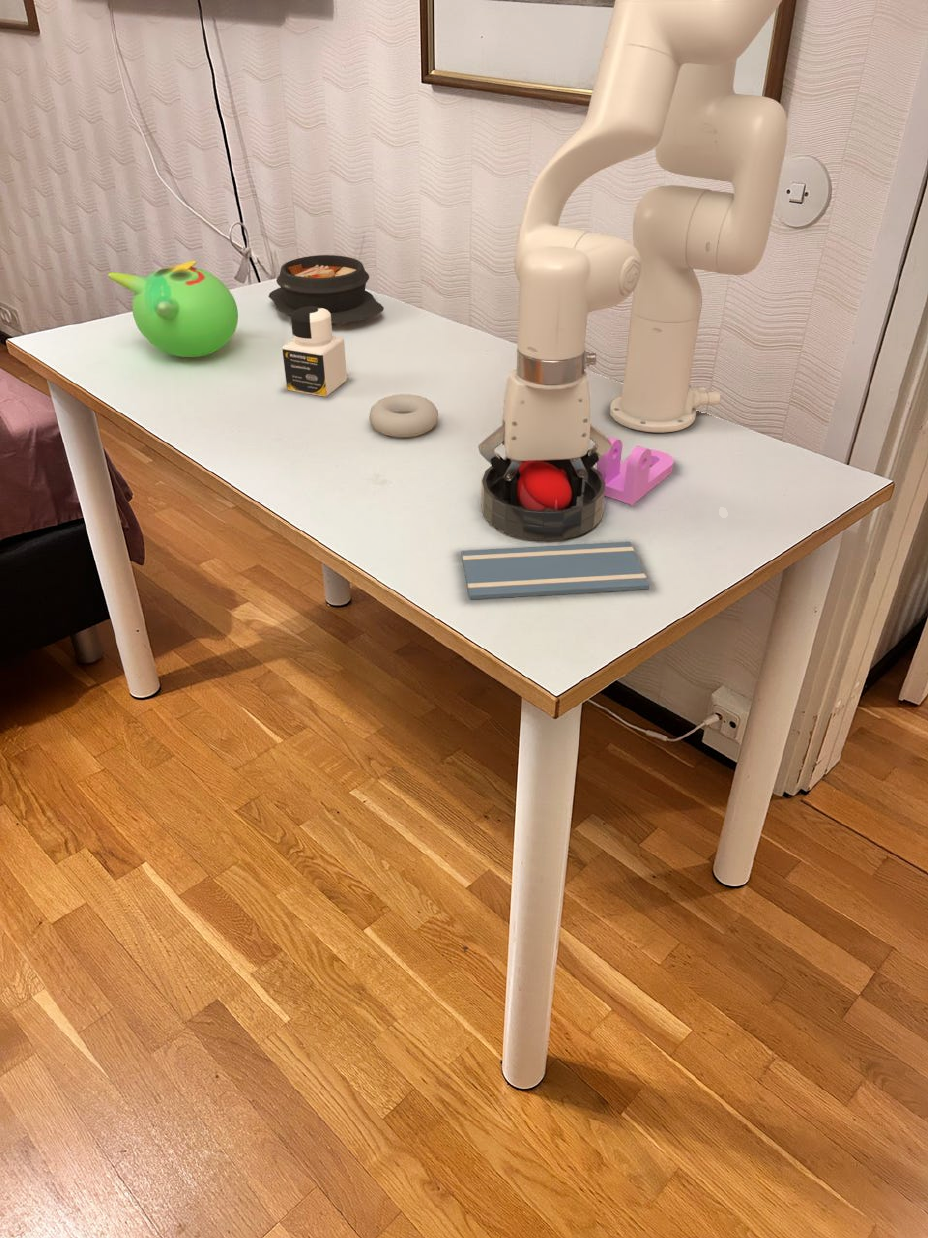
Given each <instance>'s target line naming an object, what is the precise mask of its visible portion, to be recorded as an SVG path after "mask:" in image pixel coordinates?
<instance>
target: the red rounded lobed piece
mask: <svg viewBox="0 0 928 1238" xmlns="http://www.w3.org/2000/svg"><path fill="white" fill-rule="evenodd" d="M519 473H520V475H521V476H520V478H519V480H518V493H517V500H518V502H519V504H520V505H522V507H523V508H525V509H531V510H540V511H545V510H546V509H547V507H548V508H551V509H555V510H563V509H564V508H565V507H567V506H568V505H569V503H570V501H571V497H572V492H571V487H570V484H569V481H568V477H567V475H566V473H565V471H564V470H563V469H560V470H559V469H558V468H556V467H555V466H553V465H551V464H549V463H547V462H543V461H526V462H523V463H522V464H521V466H520V467H519ZM552 511H553V510H552Z"/></svg>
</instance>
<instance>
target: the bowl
mask: <svg viewBox="0 0 928 1238" xmlns="http://www.w3.org/2000/svg"><path fill="white" fill-rule="evenodd" d="M523 462H526V461H523ZM523 462H522V463H523ZM543 462H547V463H549V464H551V465H553V466H555V467H556V468H558V469H559V470H560V469H563V470H564V471H565V473H566V475H568V469H569V467H570V466H571V465H572V463H571V461H570V459H564V460H543ZM596 469H597V468H596V467H594V466H593V467H591V468H590V469H589V470H588V471H587V474H586V475H585V476H584V477H583V481H582V492H581V497H577V504H576V506H571V505H570V504H569V505H568V506H567V507H565V508H564V509H563V510H555V509H551V508H548V507H547V509H546V510H545V511H540V510H531V509H525V508H523V507H522V505H520V504H519V502H518V500H517V506H513V505H510V504H509V500H504V495H503V488H504V477H503V476H502V475H501V474H500V473H499V472H498V471H497V470H495V469H494V468H493V467H492V465H490V467H488V468H487V469H486V470H485V472H484V473H483V476H482V478H481V510H482V514H483V517H484V518H485V519H486V521H487V522H488V523H489V524H490V525H491V526H493V527H495V528H496V529H497V530H499V531H501V532H502V533H504V534H507V535H509V536H512V537H516V538H519V539H523V540H528V541H534V542H555V541H556V542H557V541H563V540H564V541H565V540H569V539H572V538H576V537H578V536H582V535H583V534H585V533H587V532H588V531H590V530H593V529H594V528H595V527H596V526H597V525H598V524H599V523H600V522H601V520H602V517H603V513H604V511H603V510H604V502H605V485H606V483H605V481H604V479H603V476H602V474H601V473H600V472H599V471H597V470H596ZM520 476H521V475H520V473H519V469H518V471H517V473H516V477H517V480H519V478H520ZM552 510H553V511H552Z"/></svg>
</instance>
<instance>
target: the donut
mask: <svg viewBox="0 0 928 1238" xmlns="http://www.w3.org/2000/svg"><path fill="white" fill-rule="evenodd" d="M369 411H370V412H369V416H368V417H369V421H370V424H371V425H372V427H373V429H375V430H376V431H378V432H379V433H380V434H383V435H386V436H389V437H393V438H412V437H417V436H421V435H424V434H426V433H428V432H430V431H431V430H432V429H433V428H435V426H436V425H437V422H438V418H439V411H438V409H437V407H436V405H435V403H433V401H432V400H429V399H428V398H426V397H423V396H420V395H416V394H409V393H408V394H407V393H405V394H402V393H401V394H394V395H393V394H392V395H390V396H386V397H383V398H381V399H379V400H378V401H377V402H375V403H374V404H373V405H372V407H371V408H370V410H369Z"/></svg>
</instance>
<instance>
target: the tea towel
mask: <svg viewBox="0 0 928 1238" xmlns="http://www.w3.org/2000/svg"><path fill="white" fill-rule="evenodd" d="M461 560H462V565H463V566H462V567H463V571H464V577H465V582H466V587H467V592H468V593H467V594H468V599H469V600H470V601H471V600H487V599H502V598H505V599H506V598H520V597H537V596H553V595H554V596H556V595H573V594H574V595H575V594H585V593H586V594H587V593H588V594H589V593H605V592H622V591H623V592H624V591H640V590H641V591H642V590H649V589H650V584H649V582H648V580H647V575H646V574H645V573H644V570H643V568H642V566H641V563H640V562H639V559H638V557H637V554H636V553H635V549H634V546H633V545H632V543H631V542H630V541H619V542H618V541H617V542H616V541H615V542H600V543H599V542H598V543H597V542H596V543H582V544H581V543H580V544H561V545H545V546H544V545H543V546H525V547H523V546H522V547H507V548H505V547H504V548H489V549H487V548H485V549H471V550H461Z"/></svg>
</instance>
